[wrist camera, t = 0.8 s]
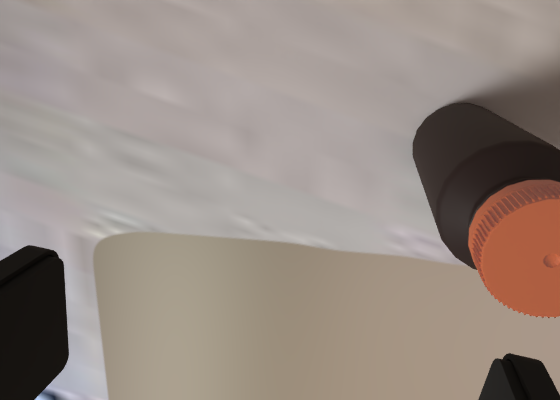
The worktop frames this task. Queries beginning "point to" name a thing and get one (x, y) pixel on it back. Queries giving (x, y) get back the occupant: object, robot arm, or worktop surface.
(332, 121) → the worktop surface
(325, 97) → the worktop surface
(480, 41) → the worktop surface
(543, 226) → the vinegar
